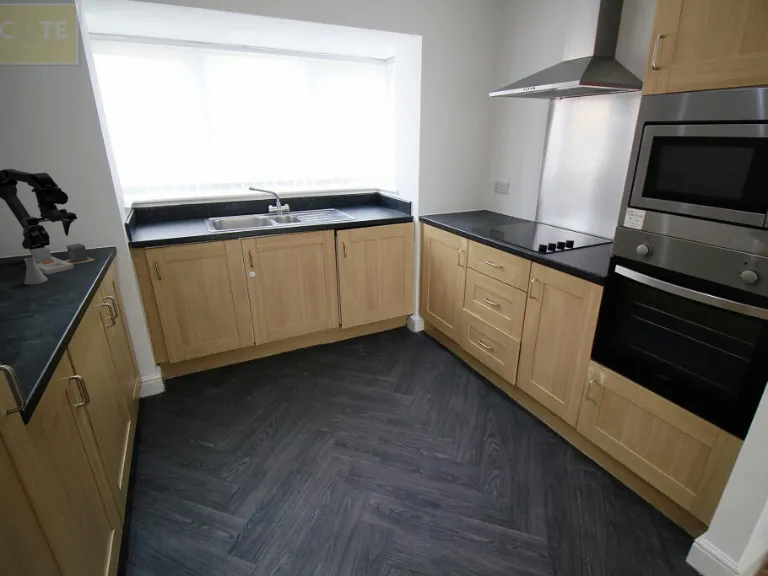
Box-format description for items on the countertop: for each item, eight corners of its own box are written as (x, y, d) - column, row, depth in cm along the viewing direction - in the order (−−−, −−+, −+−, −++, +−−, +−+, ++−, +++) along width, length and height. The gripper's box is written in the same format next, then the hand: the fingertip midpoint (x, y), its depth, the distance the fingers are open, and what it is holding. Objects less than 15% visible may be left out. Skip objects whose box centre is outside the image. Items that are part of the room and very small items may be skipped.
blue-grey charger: (34, 265, 187) (30, 249, 185) (48, 262, 191) (43, 247, 189) (40, 267, 184) (35, 251, 182) (53, 264, 188) (49, 249, 186)
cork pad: (63, 261, 194) (63, 260, 194) (85, 257, 201) (85, 256, 201) (73, 265, 189) (73, 264, 188) (95, 260, 196) (95, 259, 195)
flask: (38, 286, 163) (31, 261, 160) (20, 285, 164) (12, 261, 160) (52, 279, 170) (45, 256, 167) (34, 279, 170) (27, 256, 167)
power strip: (22, 264, 189) (20, 257, 188) (48, 259, 197) (46, 252, 196) (47, 275, 175) (44, 268, 174) (74, 269, 183) (72, 262, 182)
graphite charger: (70, 260, 194) (66, 245, 192) (82, 257, 198) (78, 243, 196) (76, 262, 191) (72, 247, 188) (88, 260, 195) (84, 245, 192)
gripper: (28, 207, 172) (38, 244, 178) (78, 202, 187) (86, 236, 192) (17, 204, 178) (27, 240, 183) (67, 199, 192) (75, 233, 198)
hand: (55, 237), depth 189 cm, fingers open, 9 cm apart
